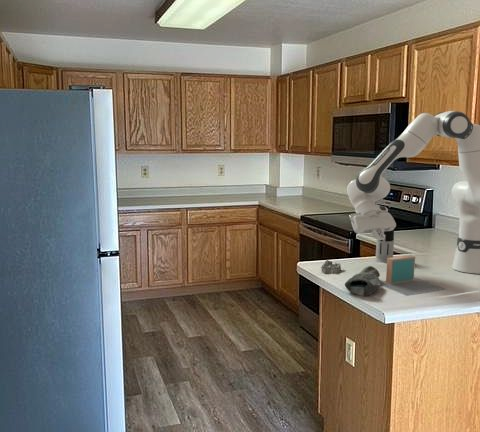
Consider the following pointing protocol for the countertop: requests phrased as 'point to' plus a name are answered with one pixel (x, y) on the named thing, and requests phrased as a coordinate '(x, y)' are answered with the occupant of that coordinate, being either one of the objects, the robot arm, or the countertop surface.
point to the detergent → (364, 282)
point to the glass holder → (385, 247)
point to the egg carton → (330, 267)
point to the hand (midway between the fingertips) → (381, 239)
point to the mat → (413, 287)
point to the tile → (400, 269)
